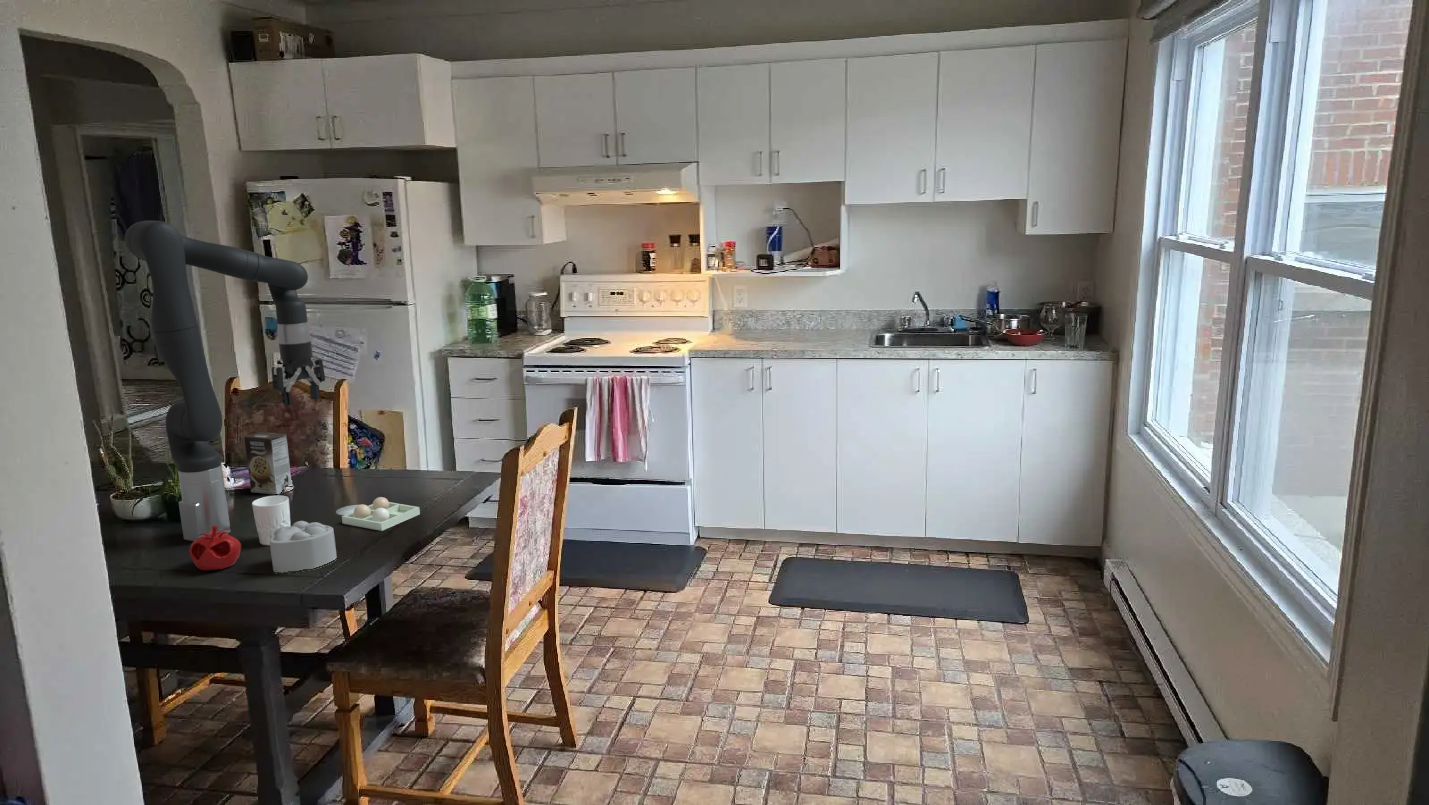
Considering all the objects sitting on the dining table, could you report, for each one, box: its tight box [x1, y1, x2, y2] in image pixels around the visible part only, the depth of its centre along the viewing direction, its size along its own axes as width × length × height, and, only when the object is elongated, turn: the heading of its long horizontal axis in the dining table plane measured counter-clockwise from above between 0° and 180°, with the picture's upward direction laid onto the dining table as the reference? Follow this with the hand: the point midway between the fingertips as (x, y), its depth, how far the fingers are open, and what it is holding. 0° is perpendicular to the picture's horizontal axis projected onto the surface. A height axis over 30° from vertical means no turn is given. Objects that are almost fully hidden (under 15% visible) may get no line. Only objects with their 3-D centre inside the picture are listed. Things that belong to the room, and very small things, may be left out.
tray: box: [341, 496, 421, 532], centre depth 232 cm, size 13×13×5 cm
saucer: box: [335, 504, 359, 516], centre depth 239 cm, size 8×8×1 cm
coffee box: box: [243, 431, 293, 495], centre depth 257 cm, size 9×6×16 cm
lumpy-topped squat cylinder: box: [269, 520, 337, 573], centre depth 206 cm, size 10×13×9 cm
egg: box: [372, 508, 390, 522], centre depth 228 cm, size 4×4×4 cm
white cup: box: [251, 494, 292, 546], centre depth 220 cm, size 8×8×10 cm
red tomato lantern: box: [189, 526, 242, 571], centre depth 205 cm, size 10×10×9 cm
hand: (301, 402), depth 239 cm, fingers open, 8 cm apart
